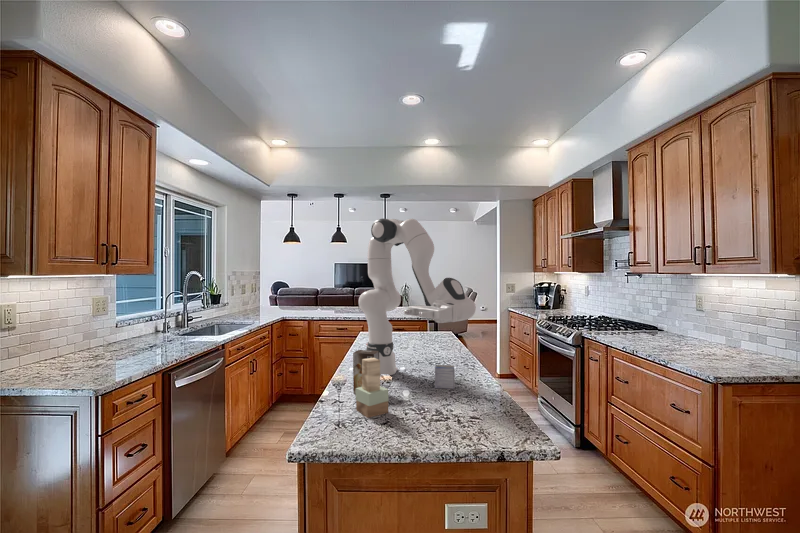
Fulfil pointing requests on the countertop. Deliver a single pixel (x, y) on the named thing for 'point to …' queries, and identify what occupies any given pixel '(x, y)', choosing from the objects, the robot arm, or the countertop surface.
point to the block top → (372, 396)
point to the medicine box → (445, 376)
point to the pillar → (370, 374)
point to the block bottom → (372, 409)
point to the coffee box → (360, 365)
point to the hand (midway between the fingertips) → (412, 313)
